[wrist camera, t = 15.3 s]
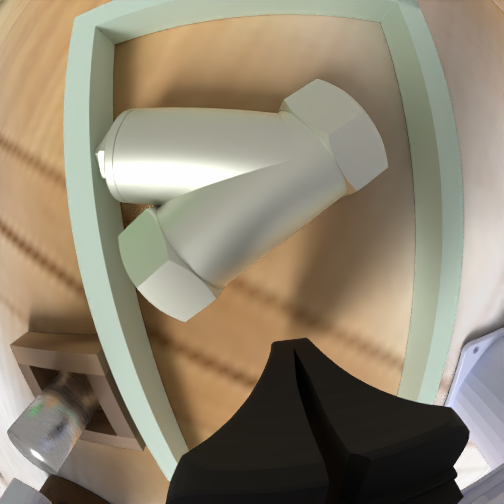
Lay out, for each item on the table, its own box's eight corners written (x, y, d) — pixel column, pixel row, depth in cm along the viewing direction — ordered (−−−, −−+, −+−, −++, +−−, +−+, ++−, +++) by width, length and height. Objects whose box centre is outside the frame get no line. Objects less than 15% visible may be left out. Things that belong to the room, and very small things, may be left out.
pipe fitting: (107, 170, 11) (201, 296, 11) (49, 160, 7) (172, 338, 7) (254, 52, 10) (361, 174, 10) (249, -5, 6) (406, 159, 6)
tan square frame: (113, 335, 12) (96, 354, 10) (151, 429, 13) (143, 451, 11) (27, 331, 12) (9, 345, 10) (68, 415, 13) (56, 432, 11)
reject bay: (394, 9, 8) (411, -10, 6) (403, 429, 13) (414, 449, 11) (94, 34, 9) (74, 17, 7) (174, 457, 14) (168, 480, 12)
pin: (94, 364, 12) (34, 439, 6) (112, 405, 13) (68, 480, 7) (57, 361, 12) (-2, 422, 6) (75, 399, 13) (28, 463, 7)
